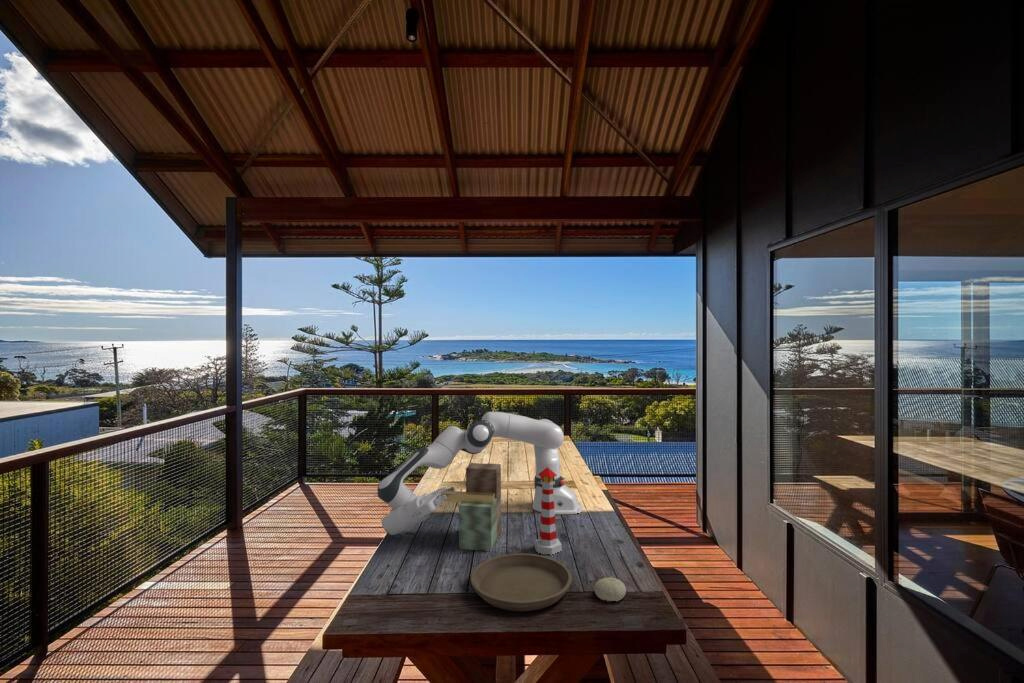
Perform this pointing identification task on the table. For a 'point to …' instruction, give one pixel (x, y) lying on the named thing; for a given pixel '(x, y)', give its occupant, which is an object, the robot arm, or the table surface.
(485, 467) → the two-tone block tower
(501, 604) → the plant saucer
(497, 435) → the robot arm
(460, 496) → the brass bar
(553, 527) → the decorative lighthouse
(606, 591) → the sea urchin shell
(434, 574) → the table surface
